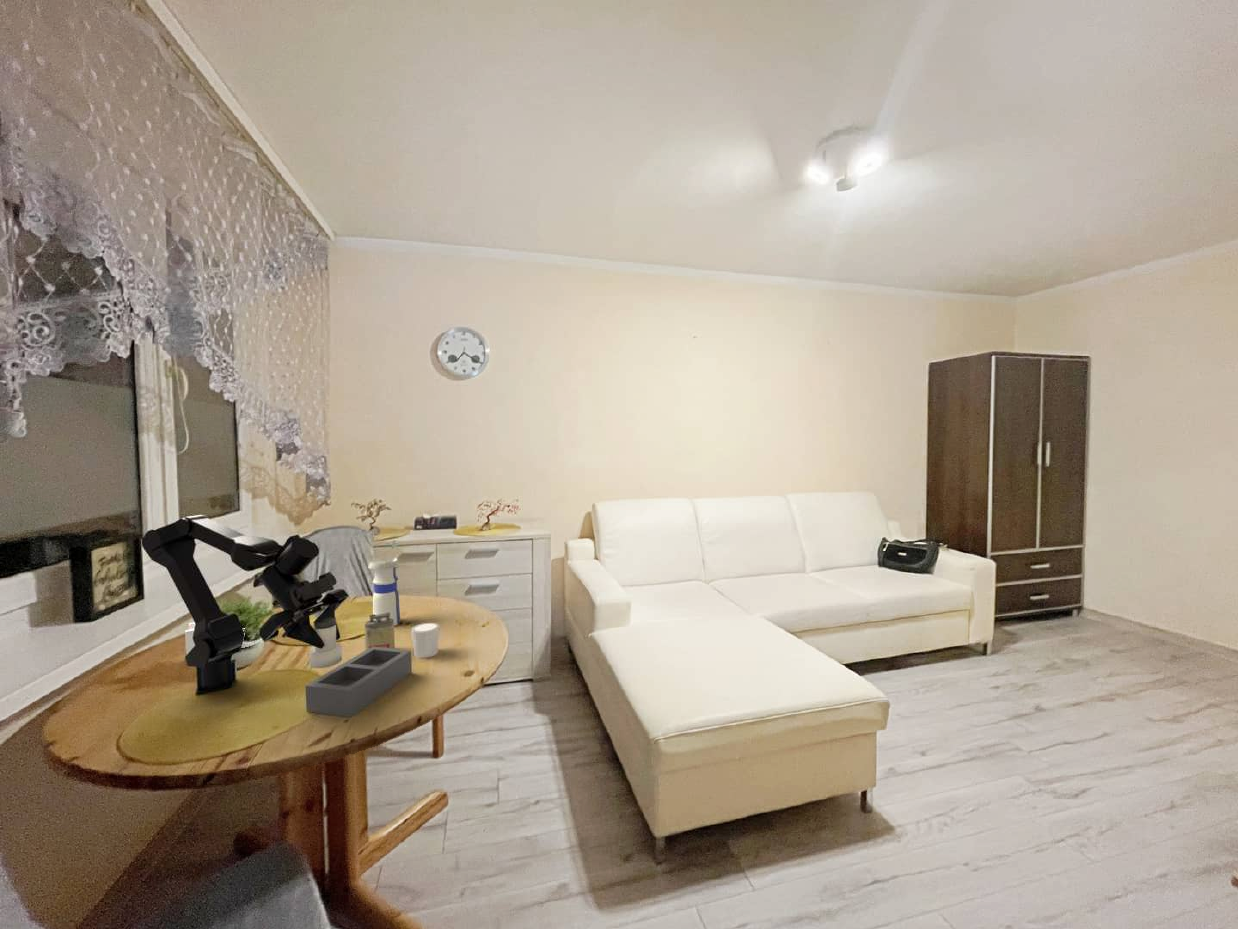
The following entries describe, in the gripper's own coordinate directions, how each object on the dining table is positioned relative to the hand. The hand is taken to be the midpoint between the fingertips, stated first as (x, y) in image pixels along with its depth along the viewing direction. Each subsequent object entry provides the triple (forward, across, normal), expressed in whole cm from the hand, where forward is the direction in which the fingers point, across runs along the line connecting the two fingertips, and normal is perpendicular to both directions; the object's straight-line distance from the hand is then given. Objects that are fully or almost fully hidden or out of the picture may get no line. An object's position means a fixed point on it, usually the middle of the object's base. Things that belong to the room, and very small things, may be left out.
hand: (330, 643), depth 107 cm
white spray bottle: (-4, +41, +22) cm, 47 cm away
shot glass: (+13, +25, +4) cm, 28 cm away
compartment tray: (+12, +4, +6) cm, 14 cm away
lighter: (+5, +24, +14) cm, 27 cm away
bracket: (-25, +16, +45) cm, 54 cm away
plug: (+2, 0, +4) cm, 5 cm away
